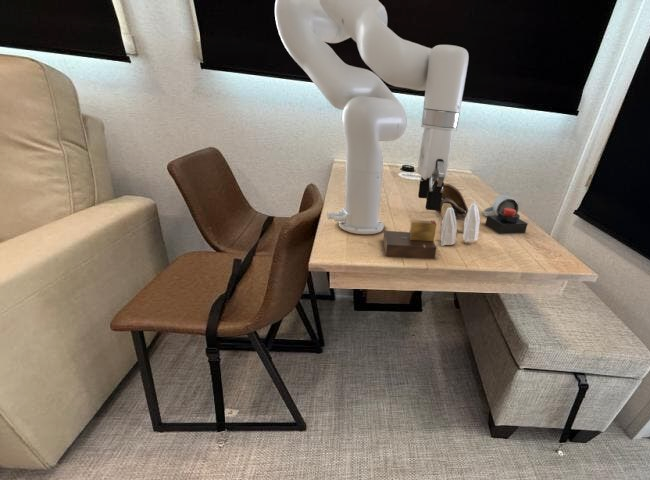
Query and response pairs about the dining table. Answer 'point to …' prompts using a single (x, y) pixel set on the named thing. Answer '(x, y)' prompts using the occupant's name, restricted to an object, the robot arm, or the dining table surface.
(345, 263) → the dining table surface
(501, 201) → the ceramic mug
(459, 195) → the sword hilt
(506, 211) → the bell button
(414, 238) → the lock knob
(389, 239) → the plate
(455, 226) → the shaker set
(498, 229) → the bell block
